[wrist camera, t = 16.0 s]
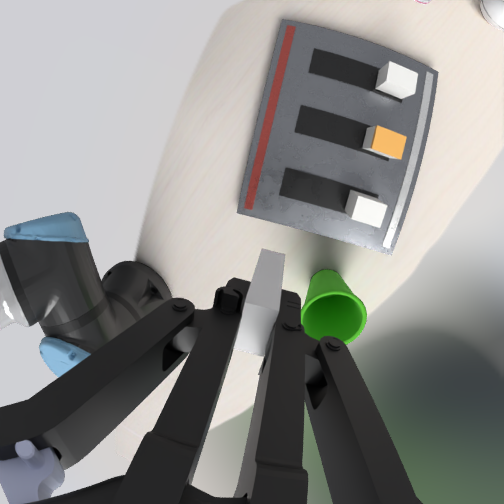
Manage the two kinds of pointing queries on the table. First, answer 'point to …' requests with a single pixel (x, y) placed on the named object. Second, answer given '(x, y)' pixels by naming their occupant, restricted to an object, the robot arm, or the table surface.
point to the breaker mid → (384, 142)
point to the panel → (334, 136)
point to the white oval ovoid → (493, 12)
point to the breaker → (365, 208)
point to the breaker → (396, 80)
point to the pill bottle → (422, 1)
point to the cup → (332, 308)
